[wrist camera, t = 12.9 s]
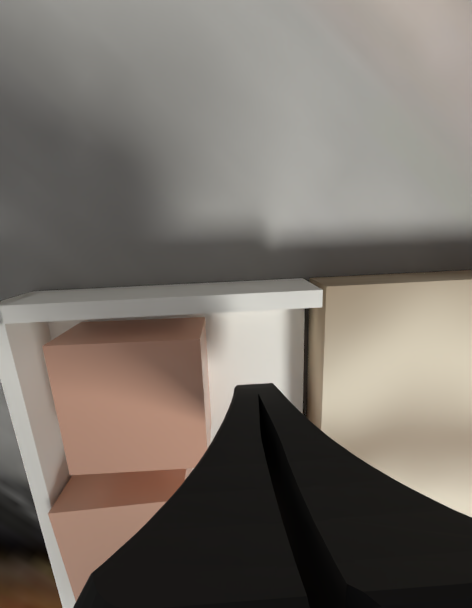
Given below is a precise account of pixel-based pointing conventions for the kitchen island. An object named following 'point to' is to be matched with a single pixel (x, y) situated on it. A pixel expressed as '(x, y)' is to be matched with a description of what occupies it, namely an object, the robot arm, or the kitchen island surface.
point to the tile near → (131, 394)
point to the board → (397, 376)
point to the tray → (137, 306)
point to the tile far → (106, 515)
